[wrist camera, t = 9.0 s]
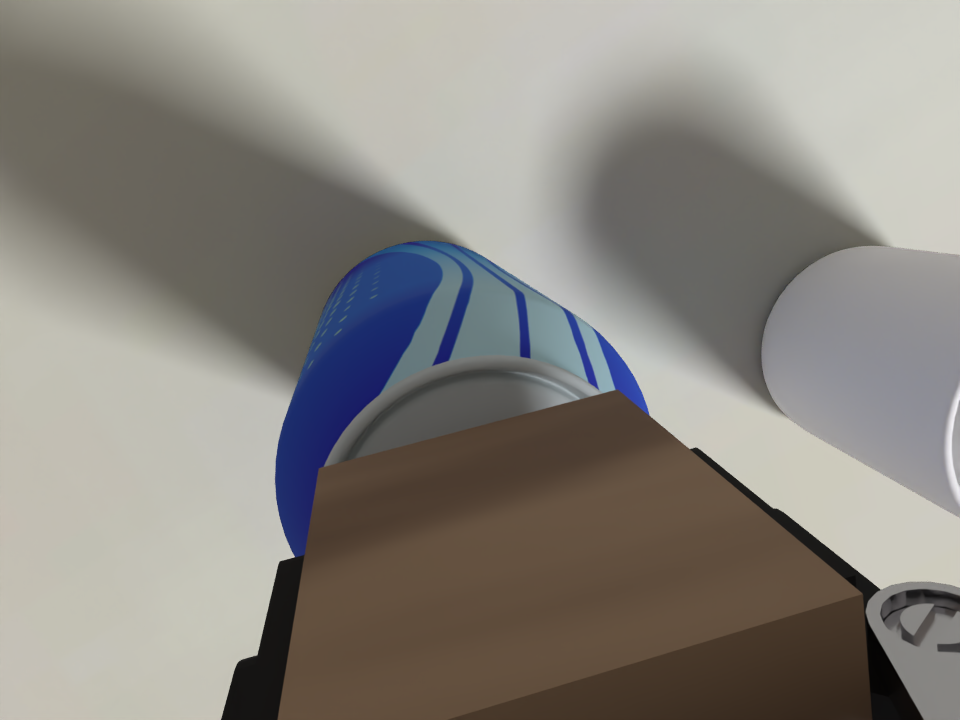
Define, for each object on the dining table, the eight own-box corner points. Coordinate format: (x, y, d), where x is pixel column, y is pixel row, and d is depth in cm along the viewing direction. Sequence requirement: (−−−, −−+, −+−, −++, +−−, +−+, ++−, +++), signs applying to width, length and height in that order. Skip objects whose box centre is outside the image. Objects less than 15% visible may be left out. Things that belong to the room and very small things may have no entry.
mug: (861, 513, 34) (1076, 656, 24) (715, 340, 31) (892, 420, 20) (998, 389, 33) (1278, 481, 23) (865, 200, 30) (1123, 209, 20)
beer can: (342, 215, 27) (308, 256, 12) (548, 265, 29) (759, 361, 13) (299, 420, 29) (220, 696, 13) (497, 457, 30) (630, 738, 15)
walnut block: (318, 467, 11) (268, 774, 5) (618, 389, 12) (861, 593, 6) (396, 719, 13) (421, 1176, 7) (661, 640, 13) (893, 1005, 7)
